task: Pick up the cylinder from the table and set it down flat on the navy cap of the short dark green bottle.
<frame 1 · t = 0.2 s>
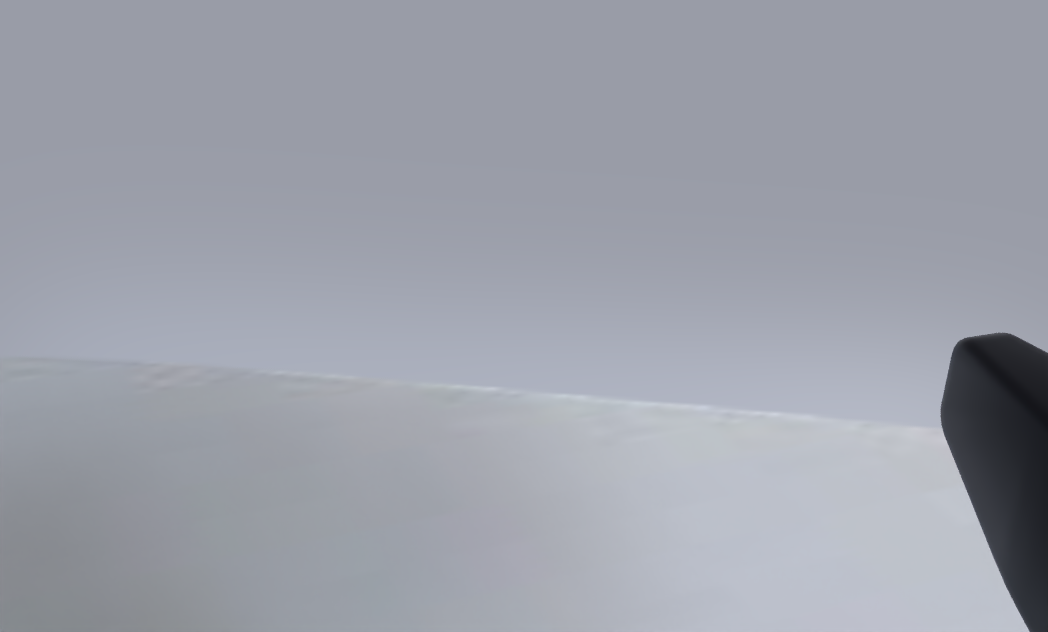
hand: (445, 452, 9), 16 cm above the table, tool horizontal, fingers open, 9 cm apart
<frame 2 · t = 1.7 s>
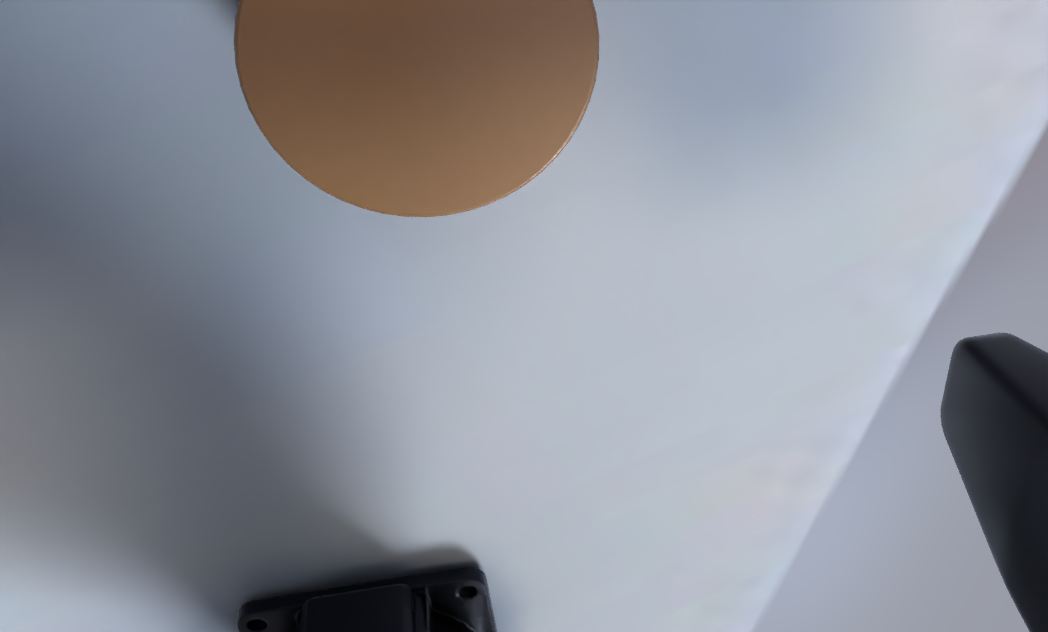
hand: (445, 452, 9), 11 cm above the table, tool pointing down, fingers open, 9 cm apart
cylinder: (416, 4, 17), on the table
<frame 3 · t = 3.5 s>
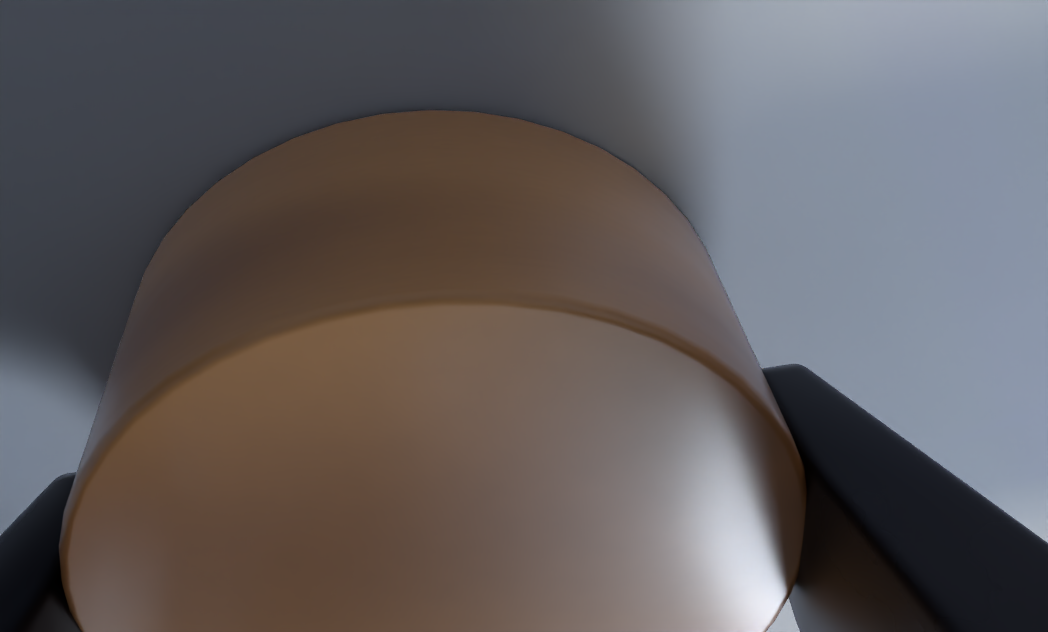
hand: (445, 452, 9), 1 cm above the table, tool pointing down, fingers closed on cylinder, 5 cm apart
cylinder: (437, 374, 9), on the table, touching gripper
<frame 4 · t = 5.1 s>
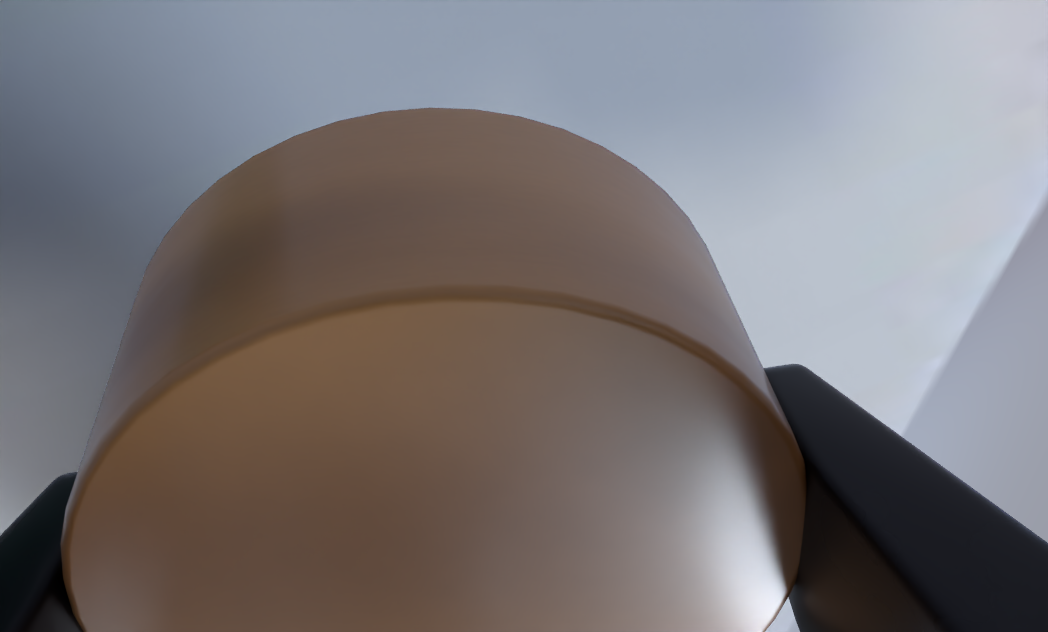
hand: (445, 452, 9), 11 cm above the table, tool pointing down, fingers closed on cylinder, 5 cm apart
cylinder: (438, 372, 9), point 10 cm above the table, touching gripper
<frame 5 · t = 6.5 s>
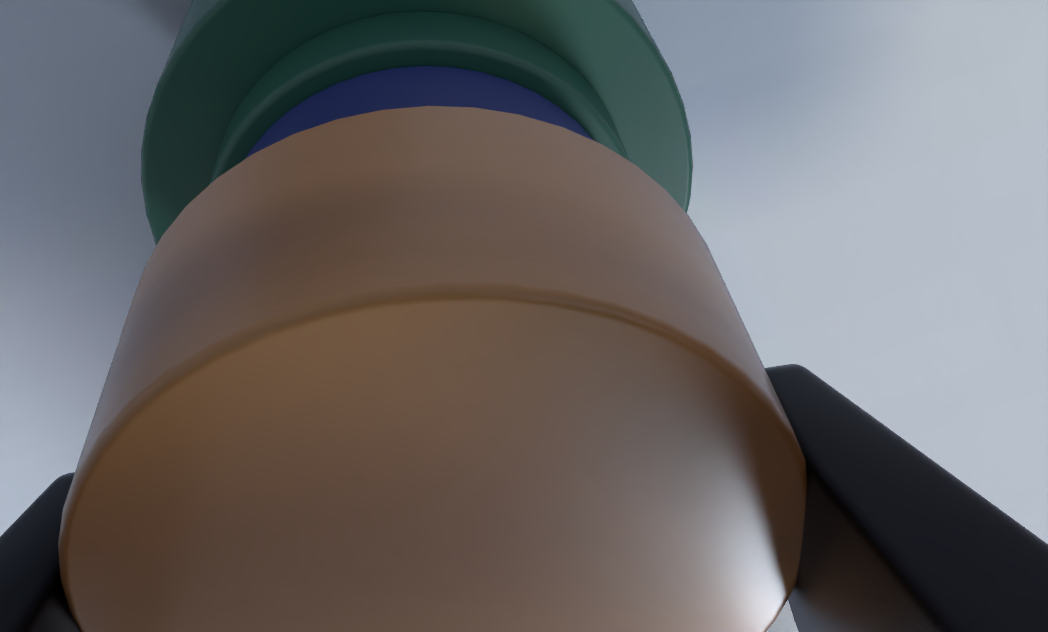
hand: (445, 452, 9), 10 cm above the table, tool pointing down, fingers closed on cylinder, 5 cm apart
cylinder: (437, 372, 9), point 9 cm above the table, touching gripper
bottle: (414, 19, 16), on the table
when the fingers open (9 cm above the table, at t = 7.2 s): cylinder stays where it is, resting on bottle.
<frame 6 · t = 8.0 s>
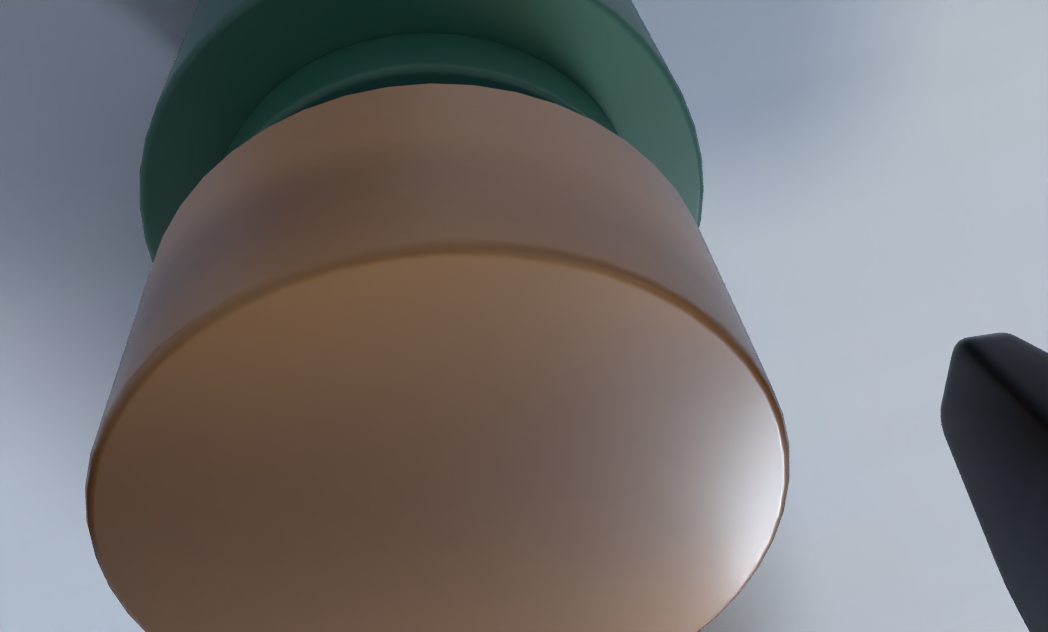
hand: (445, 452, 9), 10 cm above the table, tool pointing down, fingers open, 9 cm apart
cylinder: (438, 340, 10), point 8 cm above the table, touching bottle
bottle: (417, 33, 16), on the table, touching cylinder
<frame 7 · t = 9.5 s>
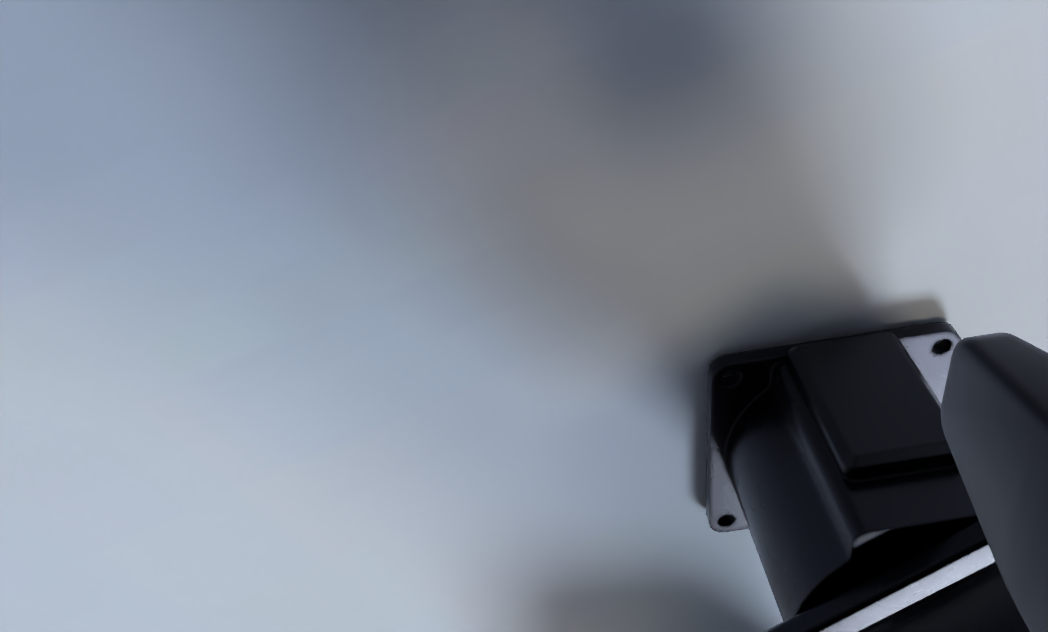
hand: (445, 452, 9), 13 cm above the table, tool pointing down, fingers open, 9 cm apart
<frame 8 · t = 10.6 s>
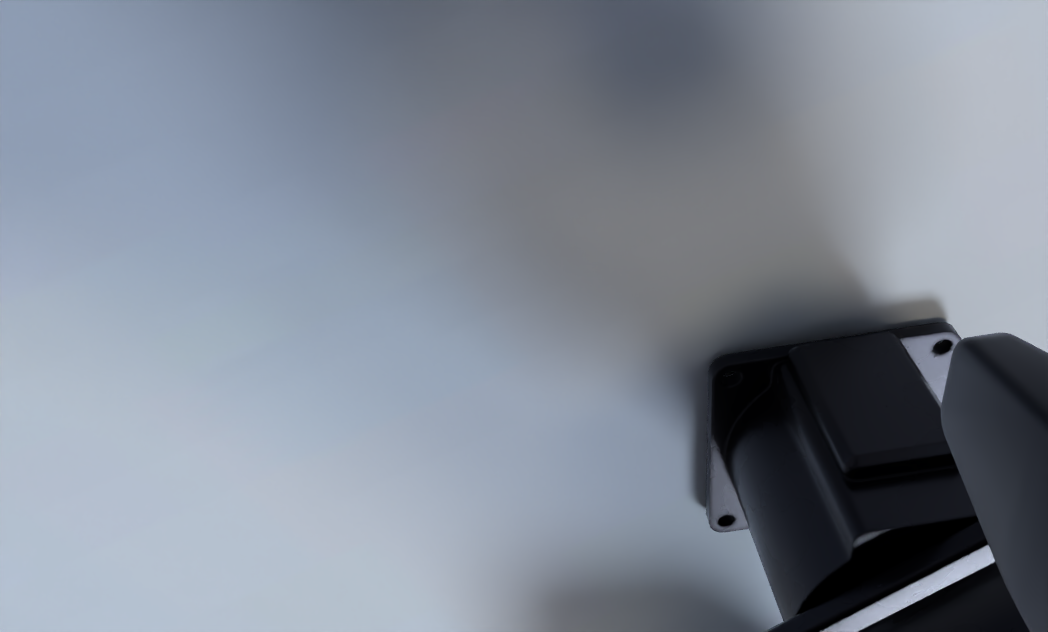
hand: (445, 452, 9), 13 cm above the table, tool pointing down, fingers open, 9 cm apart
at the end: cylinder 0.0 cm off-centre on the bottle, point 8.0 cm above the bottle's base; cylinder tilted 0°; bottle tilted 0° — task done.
